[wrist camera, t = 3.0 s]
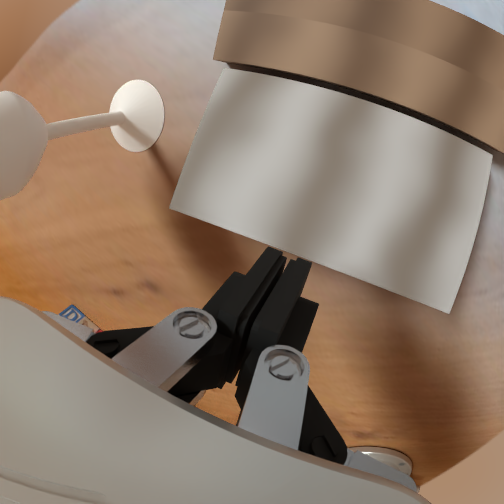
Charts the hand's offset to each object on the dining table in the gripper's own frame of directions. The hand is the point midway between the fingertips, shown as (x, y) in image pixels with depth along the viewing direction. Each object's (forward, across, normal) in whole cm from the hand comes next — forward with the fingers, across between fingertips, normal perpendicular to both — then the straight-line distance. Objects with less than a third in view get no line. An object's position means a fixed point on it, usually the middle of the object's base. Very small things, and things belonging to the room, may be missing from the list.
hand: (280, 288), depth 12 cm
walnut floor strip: (+12, 0, -12) cm, 17 cm away
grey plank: (+10, 0, -2) cm, 10 cm away
